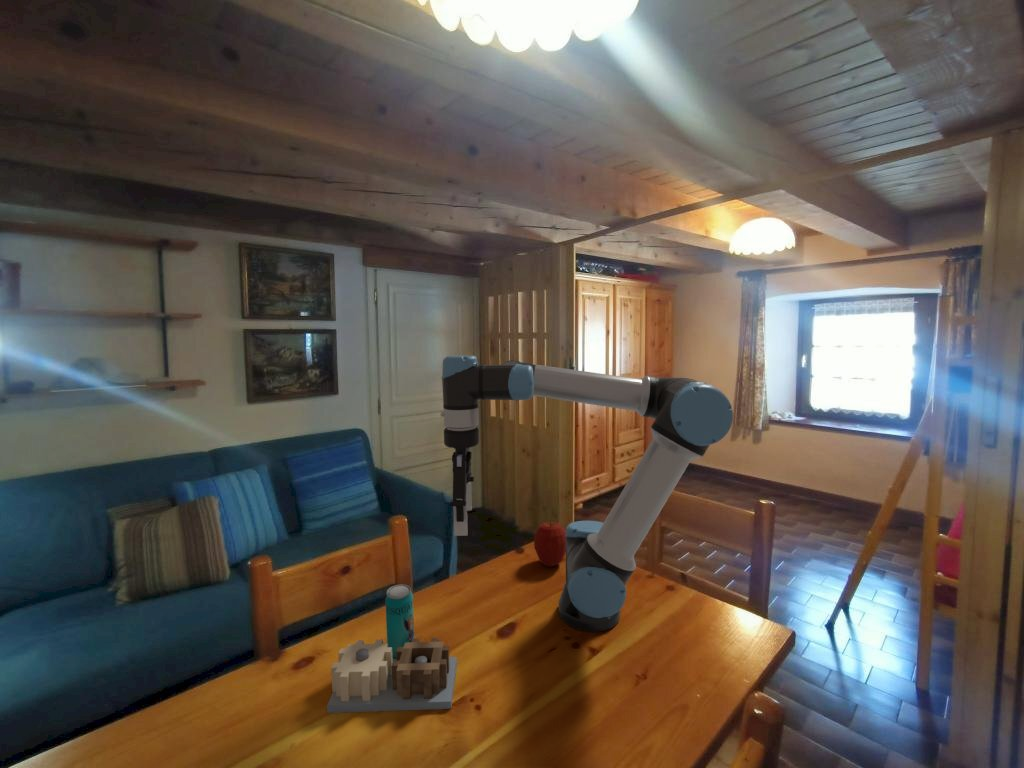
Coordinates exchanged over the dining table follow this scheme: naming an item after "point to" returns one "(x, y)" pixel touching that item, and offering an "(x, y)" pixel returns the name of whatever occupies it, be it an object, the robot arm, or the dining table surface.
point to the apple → (550, 543)
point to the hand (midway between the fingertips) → (463, 521)
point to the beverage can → (399, 617)
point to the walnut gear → (420, 668)
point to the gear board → (398, 700)
